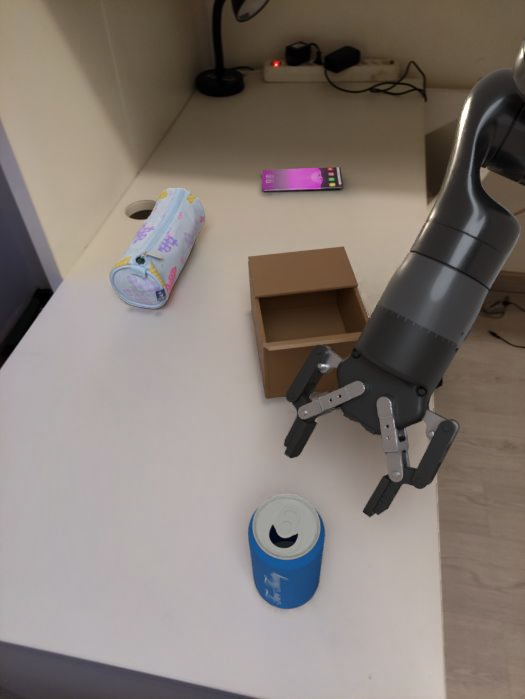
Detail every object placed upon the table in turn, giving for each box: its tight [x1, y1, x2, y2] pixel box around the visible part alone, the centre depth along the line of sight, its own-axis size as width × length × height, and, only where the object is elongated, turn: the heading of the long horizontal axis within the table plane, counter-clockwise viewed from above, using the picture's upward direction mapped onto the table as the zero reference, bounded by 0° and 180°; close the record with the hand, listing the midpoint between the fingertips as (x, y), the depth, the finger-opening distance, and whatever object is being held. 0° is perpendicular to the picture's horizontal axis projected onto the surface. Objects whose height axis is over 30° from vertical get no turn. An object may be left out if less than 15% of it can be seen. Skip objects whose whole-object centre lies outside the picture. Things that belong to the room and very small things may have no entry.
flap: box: [263, 332, 362, 351], centre depth 57 cm, size 8×13×1 cm
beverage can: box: [247, 492, 326, 610], centre depth 49 cm, size 6×6×12 cm
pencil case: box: [109, 187, 206, 310], centre depth 82 cm, size 21×9×10 cm, turn 166°
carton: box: [247, 246, 370, 400], centre depth 70 cm, size 16×13×10 cm
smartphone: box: [261, 166, 344, 193], centre depth 102 cm, size 7×15×1 cm, turn 89°
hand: (328, 483), depth 47 cm, fingers open, 8 cm apart
